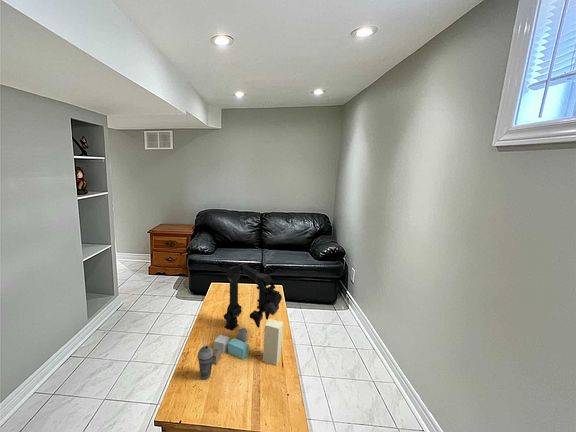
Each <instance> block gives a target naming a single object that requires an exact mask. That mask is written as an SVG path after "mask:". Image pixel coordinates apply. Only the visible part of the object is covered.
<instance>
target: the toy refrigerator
mask: <svg viewBox="0 0 576 432" xmlns="http://www.w3.org/2000/svg"><path fill="white" fill-rule="evenodd" d="M283 328H284V321H281V320H276V319H272V318H268V320H267V321H266V322H265V324H264V332H263V333H264V334H263V350H262V351H263V352H262V353H263V354H262V362H264V363H267V364H270V365H273V366H277V365H278V363H279V361H280V360H281V357H282V344H283V333H284V331H283V330H284V329H283Z"/></svg>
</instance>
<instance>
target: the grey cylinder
mask: <svg viewBox="0 0 576 432" xmlns="http://www.w3.org/2000/svg"><path fill="white" fill-rule="evenodd" d="M237 339H238V340H240V341H243V342H245V343H247V340H248V329H246V328H245V327H242V328H239V329H238V331H237Z"/></svg>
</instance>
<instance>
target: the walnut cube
mask: <svg viewBox="0 0 576 432" xmlns="http://www.w3.org/2000/svg"><path fill="white" fill-rule="evenodd" d="M211 348H212V347H211ZM212 350H213V359H212V365H214V366H217V365H218V363H219V362H220V360H221V359H222V356H221V355H222V353H221V350H218V349H214V347H213V348H212Z"/></svg>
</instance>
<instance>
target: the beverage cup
mask: <svg viewBox="0 0 576 432" xmlns="http://www.w3.org/2000/svg"><path fill="white" fill-rule="evenodd" d="M202 339H203V346H202V347H201V348H200V349H199V350H198V353H197V360H198V367H199V375H200V379H201V380H202V381H207V380H209V379H210V378H211V374H212V366H213V364H212V359H213V350H212V347H211V346H209V345H206V343H205V341H206V340H205V337H202Z"/></svg>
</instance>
